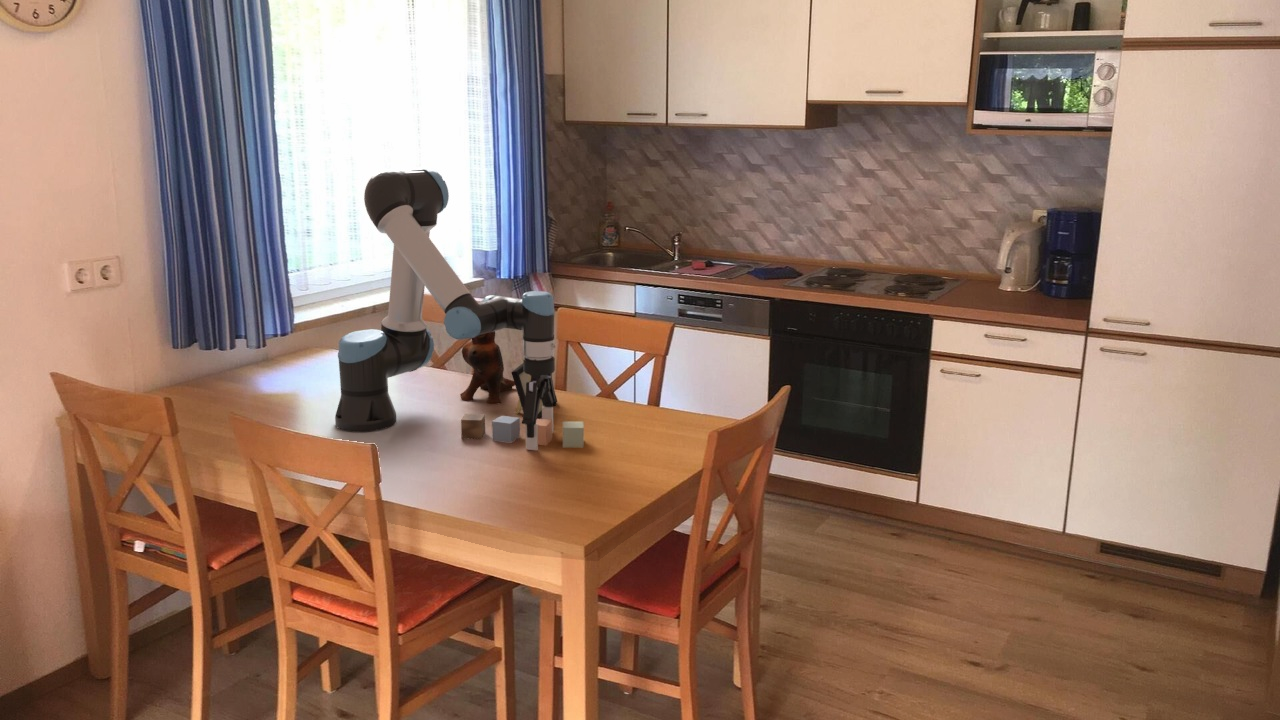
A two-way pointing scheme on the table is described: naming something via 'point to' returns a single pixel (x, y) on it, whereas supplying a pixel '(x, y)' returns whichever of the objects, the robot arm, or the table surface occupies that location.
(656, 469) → the table surface
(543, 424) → the terracotta block
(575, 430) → the sage block
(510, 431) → the slate block
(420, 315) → the robot arm
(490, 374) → the sculpture
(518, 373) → the picture frame
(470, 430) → the walnut block
